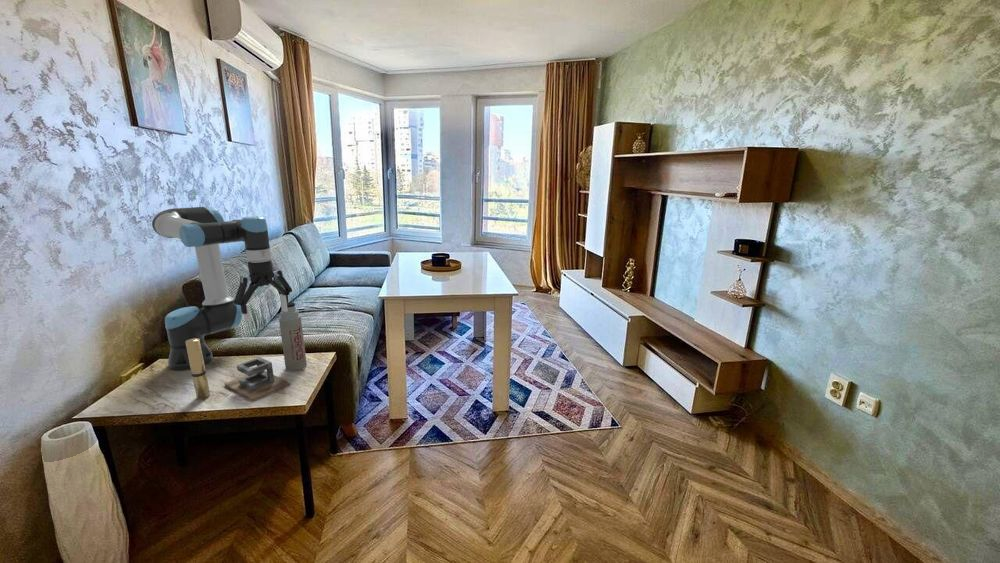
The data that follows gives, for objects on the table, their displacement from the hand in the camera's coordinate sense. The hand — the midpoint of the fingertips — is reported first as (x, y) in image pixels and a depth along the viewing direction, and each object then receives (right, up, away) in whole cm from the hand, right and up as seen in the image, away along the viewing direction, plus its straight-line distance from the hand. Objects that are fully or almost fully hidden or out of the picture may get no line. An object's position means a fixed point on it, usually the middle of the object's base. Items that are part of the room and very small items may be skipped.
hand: (267, 316), depth 151 cm
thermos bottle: (+1, -23, +20) cm, 31 cm away
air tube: (-21, -29, -3) cm, 36 cm away
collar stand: (-6, -27, +5) cm, 28 cm away
